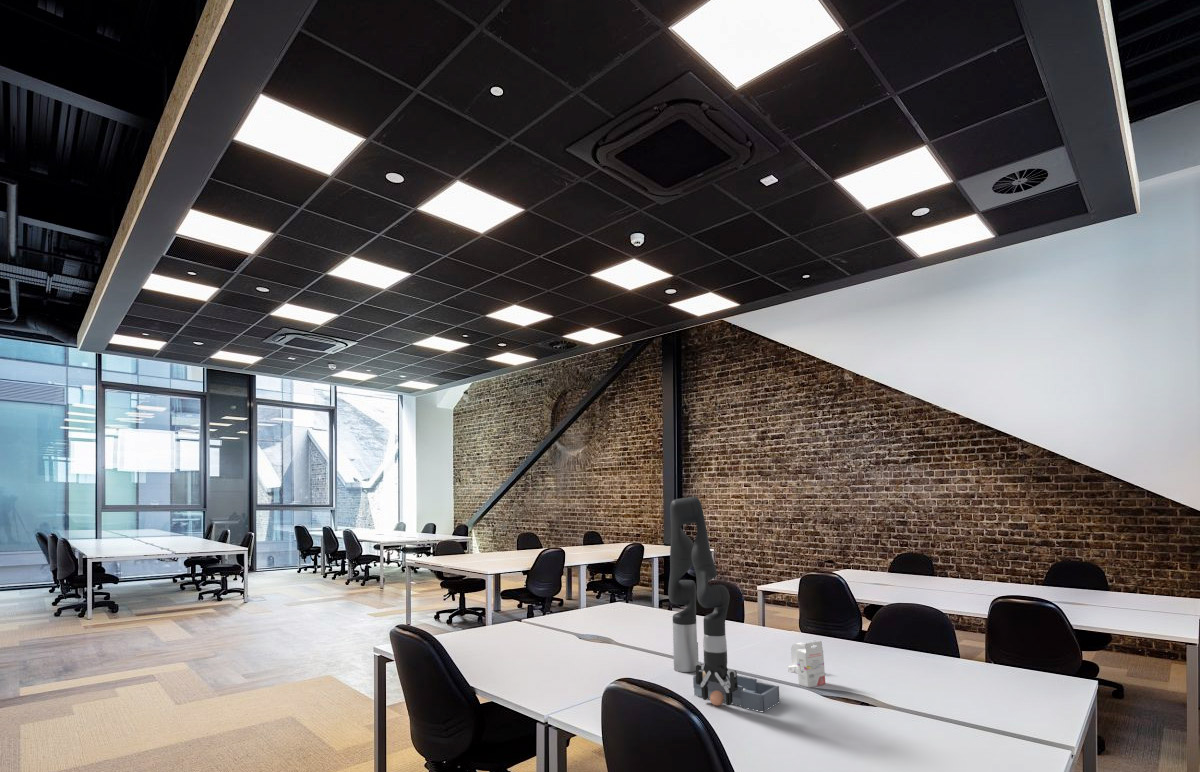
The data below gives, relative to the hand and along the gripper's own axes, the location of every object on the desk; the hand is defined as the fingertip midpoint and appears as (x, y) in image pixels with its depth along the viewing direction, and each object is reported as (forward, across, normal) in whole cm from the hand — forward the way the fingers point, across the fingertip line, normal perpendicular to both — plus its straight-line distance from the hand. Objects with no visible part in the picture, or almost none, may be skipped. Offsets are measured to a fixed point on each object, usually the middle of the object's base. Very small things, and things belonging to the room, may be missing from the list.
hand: (716, 701), depth 203 cm
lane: (+1, -2, -9) cm, 9 cm away
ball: (-1, 0, 0) cm, 1 cm away
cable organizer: (+1, -5, -54) cm, 55 cm away
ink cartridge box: (+1, -15, -40) cm, 43 cm away
